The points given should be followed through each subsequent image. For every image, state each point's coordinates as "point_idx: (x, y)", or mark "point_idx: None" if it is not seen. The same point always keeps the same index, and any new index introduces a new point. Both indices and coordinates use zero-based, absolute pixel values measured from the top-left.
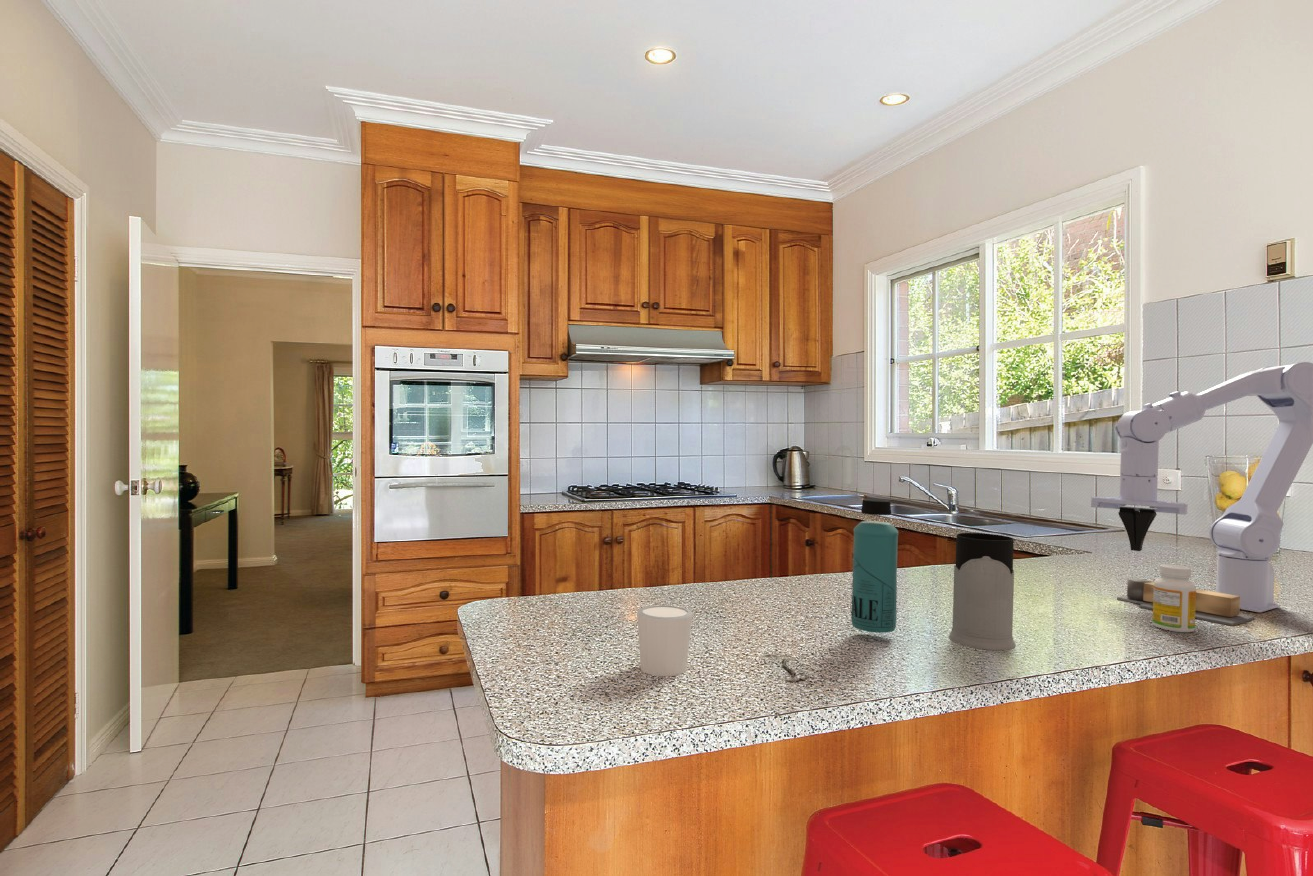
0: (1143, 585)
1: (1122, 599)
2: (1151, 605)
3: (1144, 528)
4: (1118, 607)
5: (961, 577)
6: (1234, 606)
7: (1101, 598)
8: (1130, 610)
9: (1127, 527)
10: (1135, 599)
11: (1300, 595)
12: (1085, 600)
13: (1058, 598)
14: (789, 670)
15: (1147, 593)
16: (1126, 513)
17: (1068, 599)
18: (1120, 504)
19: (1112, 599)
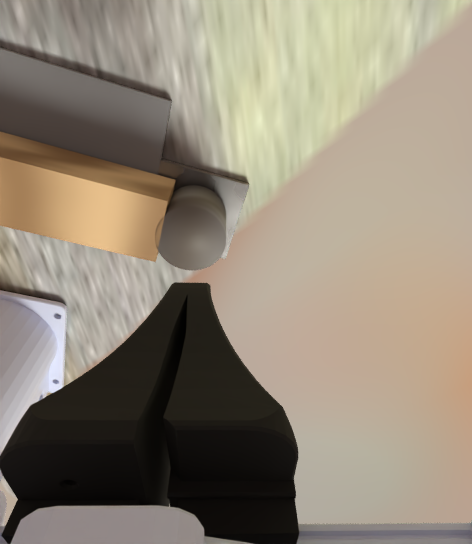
0: (172, 208)
1: (233, 180)
2: (140, 127)
3: (114, 355)
4: (224, 35)
5: None
6: None
7: (290, 165)
8: (180, 8)
9: (221, 353)
10: None
11: (3, 482)
12: (334, 79)
13: (425, 30)
14: None
15: (159, 185)
16: (222, 426)
17: (390, 43)
18: None
19: (260, 176)
